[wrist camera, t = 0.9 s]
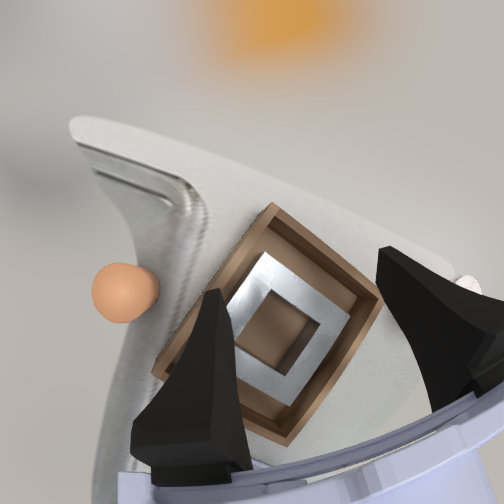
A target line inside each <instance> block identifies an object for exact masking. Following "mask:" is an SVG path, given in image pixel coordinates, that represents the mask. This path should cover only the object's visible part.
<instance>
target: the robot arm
mask: <svg viewBox="0 0 504 504" xmlns="http://www.w3.org/2000/svg"><path fill="white" fill-rule="evenodd" d="M375 283H376V285H377V287H378V289H379V292H380V294H381V296H382V298H383V300H384V302H385V303H386V305H387V307H388V308H389V310H390V312H391V313H392V315H393V316H394V318H395V320H396V321H397V323H398V325H399V326H400V328H401V330H402V331H403V333H404V335H405V336H406V338H407V340H408V342H409V344H410V346H411V349H412V351H413V353H414V356H415V358H416V360H417V363H418V366H419V368H420V371H421V374H422V377H423V380H424V383H425V386H426V389H427V393H428V397H429V400H430V405H431V409H432V414H430V415H428V416H426V417H424V418H421V419H419V420H417V421H415V422H413V423H411V424H408V425H406V426H404V427H401V428H399V429H397V430H394V431H392V432H390V433H387V434H385V435H382V436H379V437H376V438H374V439H371V440H368V441H365V442H363V443H360V444H357V445H354V446H351V447H348V448H344V449H341V450H338V451H335V452H331V453H328V454H324V455H321V456H317V457H313V458H309V459H305V460H301V461H297V462H292V463H288V464H283V465H278V466H273V467H272V466H269V465H267V464H264V463H262V462H259V461H257V460H254V459H252V458H251V456H250V452H249V448H248V443H247V438H246V433H245V429H244V424H243V418H242V413H241V408H240V402H239V396H238V389H237V377H236V359H235V342H234V335H233V329H232V323H231V318H230V316H229V313H228V310H227V307H226V304H225V301H224V299H223V296H222V293H221V290H220V288H216V289H212V290H207V291H205V293H204V296H203V300H202V303H201V307H200V310H199V313H198V316H197V319H196V321H195V324H194V327H193V330H192V332H191V334H190V337H189V339H188V341H187V344H186V346H185V348H184V350H183V352H182V354H181V356H180V358H179V360H178V362H177V364H176V365H175V367H174V369H173V370H172V372H171V374H170V375H169V377H168V379H167V380H166V382H165V383H164V385H163V386H162V387H161V389H160V390H159V391H158V393H157V394H156V395H155V397H154V398H153V399H152V401H151V402H150V403H149V404H148V405H147V407H146V408H145V409H144V410H143V411H142V412H141V413H140V414H139V415H138V417H137V418H136V419H135V420H134V421H133V426H132V431H131V443H130V453H131V455H132V456H133V457H135V458H136V459H137V460H139V461H141V462H143V463H145V464H147V465H148V466H150V467H151V474H150V473H145V472H125V471H120V472H118V504H498V503H497V500H496V497H495V494H494V491H493V488H492V486H491V483H490V480H489V478H488V475H487V473H486V470H485V468H484V466H483V463H482V461H481V458H480V456H479V453H478V451H477V449H478V448H479V447H481V446H482V445H484V444H485V443H486V442H488V441H489V440H491V439H492V438H494V437H495V436H496V435H498V434H499V433H500V432H502V431H503V430H504V301H501V300H497V299H494V298H490V297H487V296H484V295H481V294H478V293H476V292H473V291H471V290H468V289H466V288H463V287H461V286H459V285H457V284H455V283H453V282H451V281H449V280H447V279H445V278H443V277H441V276H439V275H438V274H436V273H434V272H432V271H431V270H429V269H427V268H426V267H424V266H422V265H421V264H419V263H418V262H416V261H414V260H413V259H411V258H410V257H408V256H406V255H405V254H403V253H402V252H400V251H398V250H397V249H395V248H393V247H391V246H388V247H384V248H380V249H379V252H378V263H377V273H376V282H375ZM437 429H438V430H437ZM435 430H436V432H435V433H433V434H431V435H429V436H428V437H425V438H423V439H421V440H419V441H417V442H415V443H413V444H410V445H408V446H406V447H404V448H401V449H399V450H397V451H394V452H392V453H389V454H387V455H385V456H382V457H380V458H378V459H375V460H373V461H371V462H369V463H367V464H365V465H362V466H359V467H357V468H354V469H351V470H349V471H346V472H343V473H340V474H338V475H334V476H331V477H328V478H325V479H322V480H319V481H316V482H312V483H309V484H307V481H306V480H300V479H305V478H309V477H313V476H317V475H321V474H324V473H328V472H331V471H335V470H338V469H342V468H345V467H348V466H351V465H354V464H357V463H360V462H363V461H366V460H369V459H371V458H374V457H376V456H379V455H382V454H384V453H387V452H389V451H392V450H394V449H397V448H399V447H401V446H404V445H406V444H408V443H410V442H412V441H415V440H417V439H419V438H421V437H423V436H425V435H427V434H429V433H431V432H433V431H435ZM296 480H297V481H296Z"/></svg>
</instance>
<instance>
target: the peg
mask: <svg viewBox="0 0 504 504" xmlns="http://www.w3.org/2000/svg"><path fill="white" fill-rule="evenodd" d="M159 292H160V286H159V282H158V279H157V277H156V276H155V275H154V274H153V273H152V272H151V271H150V270H148V269H146V268H143V267H139V266H134V265H129V264H125V263H112V264H109V265H107V266H105V267H104V268H102V269H101V270H100V271H99V272H98V274H97V275H96V277H95V279H94V281H93V285H92V299H93V302H94V305H95V307H96V309H97V310H98V312H99V313H100V314H101V315H102V316H103V317H104V318H106V319H108V320H109V321H112V322H115V323H127V322H130V321H133V320H135V319H136V318H137V317H139V316H140V315H141V314H143V313H144V312H145V311H146V310H148V309H149V308H150V307H151V306H153V305H154V304H155V302H156V301H157V299H158V297H159Z"/></svg>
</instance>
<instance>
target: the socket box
mask: <svg viewBox="0 0 504 504" xmlns="http://www.w3.org/2000/svg"><path fill="white" fill-rule="evenodd" d="M262 252H266V253H267V254H269V255H270V256H271V257H273V258H274V259H275V260H277V261H278V262H279V263H281V264H282V265H283V266H285V267H286V268H288V269H289V270H290V271H292V272H293V273H294V274H296V275H297V276H298V277H300V278H301V279H302V280H304V281H305V282H306V283H307V284H309V285H310V286H311V287H313V288H314V289H315V290H317V291H318V292H319V293H321V294H322V295H323V296H325V297H326V298H327V299H329V300H330V301H331V302H333V303H334V304H335V305H337V306H338V307H339V308H341V309H342V310H343V311H345V312H346V313H347V314H349V315H350V318H349V319H348V321H347V323H346V324H345V326H344V328H343V329H342V331H341V332H340V334H339V336H338V337H337V339H336V340H335V342H334V343H333V345H332V347H331V348H330V350H329V351H328V353H327V354H326V356H325V357H324V359H323V360H322V362H321V363H320V365H319V366H318V368H317V369H316V371H315V372H314V373H313V375H312V376H311V378H310V379H309V381H308V382H307V383H306V385H305V386H304V388H303V389H302V390H301V392H300V393H299V395H298V396H297V397H296V399H295V400H294V401H293V403H292V404H291V405H290V406H288V405H286V404H284V403H282V402H280V401H278V400H276V399H275V398H273V397H271V396H269V395H267V394H266V393H264V392H262V391H260V390H258V389H257V388H255V387H253V386H251V385H250V384H248V383H246V382H245V381H243V380H241V379H239V378H238V377H237V389H238V396H239V402H240V408H241V413H242V418H243V424H244V428H246V429H248V430H250V431H252V432H254V433H256V434H258V435H260V436H263V437H265V438H267V439H269V440H271V441H274V442H276V443H278V444H280V445H283V446H285V447H288V446H289V445H290V443H291V442H292V441H293V440H294V438H295V437H296V436H297V435H298V433H299V432H300V431H301V430H302V428H303V427H304V426H305V425H306V423H307V422H308V421H309V419H310V418H311V417H312V415H313V414H314V413H315V411H316V410H317V409H318V407H319V406H320V405H321V403H322V402H323V400H324V399H325V398H326V396H327V395H328V393H329V392H330V391H331V389H332V388H333V386H334V385H335V383H336V382H337V380H338V379H339V377H340V376H341V374H342V373H343V371H344V370H345V368H346V367H347V365H348V364H349V362H350V361H351V359H352V357H353V356H354V354H355V353H356V351H357V349H358V348H359V346H360V345H361V343H362V341H363V340H364V338H365V336H366V335H367V333H368V331H369V330H370V328H371V326H372V324H373V323H374V321H375V319H376V317H377V316H378V314H379V312H380V310H381V308H382V307H383V305H384V303H385V302H384V300H383V298H382V296H381V294H380V292H379V289H378V287H377V286H376V285H375V284H373V283H372V282H371V281H370V280H369V279H368V278H366V277H365V276H364V275H363V274H362V273H360V272H359V271H358V270H357V269H356V268H354V267H353V266H352V265H351V264H350V263H348V262H347V261H346V260H345V259H344V258H342V257H341V256H340V255H339V254H338V253H336V252H335V251H334V250H333V249H331V248H330V247H329V246H328V245H327V244H325V243H324V242H323V241H322V240H320V239H319V238H318V237H317V236H315V235H314V234H313V233H312V232H310V231H309V230H308V229H307V228H305V227H304V226H303V225H301V224H300V223H299V222H298V221H296V220H295V219H294V218H293V217H291V216H290V215H289V214H287V213H286V212H285V211H284V210H282V209H281V208H280V207H278V206H277V205H276V204H274V203H273V202H272V203H271V204H269V205H268V206H267V207H266V208H265V209H264V210H263V211H262V212H260V213H259V215H258V216H257V218H256V219H255V220H254V222H253V223H252V224H251V226H250V227H249V229H248V230H247V231H246V233H245V234H244V235H243V237H242V238H241V240H240V241H239V242H238V244H237V245H236V247H235V248H234V249H233V251H232V252H231V253H230V255H229V256H228V258H227V259H226V260H225V262H224V263H223V265H222V266H221V267H220V269H219V270H218V272H217V273H216V274H215V276H214V277H213V279H212V280H211V281H210V283H209V284H208V286H207V287H206V288H205V290H204V291H203V293H202V294H201V296H200V297H199V298H198V300H197V301H196V303H195V304H194V305H193V307H192V308H191V310H190V311H189V313H188V314H187V315H186V317H185V318H184V320H183V321H182V322H181V324H180V325H179V327H178V328H177V330H176V331H175V332H174V334H173V335H172V337H171V338H170V340H169V341H168V343H167V344H166V345H165V347H164V348H163V350H162V351H161V353H160V354H159V356H158V357H157V358H156V361H155V363H154V366H153V369H152V371H151V374H153V375H154V376H156V377H157V378H159V379H160V380H162V381H163V382H166V380H167V379H168V377H169V375H170V374H171V372H172V370H173V369H174V367H175V365H176V364H177V362H178V360H179V358H180V356H181V354H182V352H183V350H184V348H185V346H186V344H187V341H188V339H189V337H190V334H191V332H192V330H193V327H194V324H195V321H196V319H197V316H198V313H199V310H200V307H201V303H202V300H203V296H204V293H205V291H207V290H212V289H216V288H220V290H221V293H222V296H223V299H224V301H225V299H226V298H227V297H228V295H229V294H230V292H231V291H232V289H233V288H234V287H235V285H236V284H237V282H238V281H239V279H240V278H241V277H242V275H243V274H244V272H245V271H246V270H247V268H248V267H249V265H250V264H251V262H252V261H253V260H254V258H255V257H256V255H257V254H259V253H262ZM307 321H308V319H306V318H305V317H303V316H302V315H301V314H299V313H298V312H296V311H295V310H293V309H292V308H291V307H289V306H288V305H286V304H285V303H284V302H282V301H281V300H279V299H278V298H277V297H275V296H274V295H272V294H271V293H270V292H268V294H267V295H266V297H265V298H264V300H263V301H262V303H261V304H260V306H259V307H258V309H257V310H256V311H255V313H254V314H253V316H252V317H251V319H250V320H249V321H248V323H247V324H246V326H245V327H244V329H243V330H242V331H241V333H240V334H239V336H238V337H237V339H236V340H235V341H234V342H236V343H237V344H239V345H240V346H242V347H244V348H245V349H247V350H248V351H250V352H251V353H253V354H255V355H256V356H258V357H259V358H261V359H263V360H264V361H266V362H267V363H269V364H271V365H272V366H274V367H277V365H278V364H279V363H280V361H281V360H282V358H283V357H284V355H285V354H286V352H287V351H288V350H289V348H290V347H291V345H292V344H293V342H294V341H295V339H296V338H297V336H298V335H299V333H300V332H301V330H302V329H303V327H304V326H305V324H306V323H307Z"/></svg>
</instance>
